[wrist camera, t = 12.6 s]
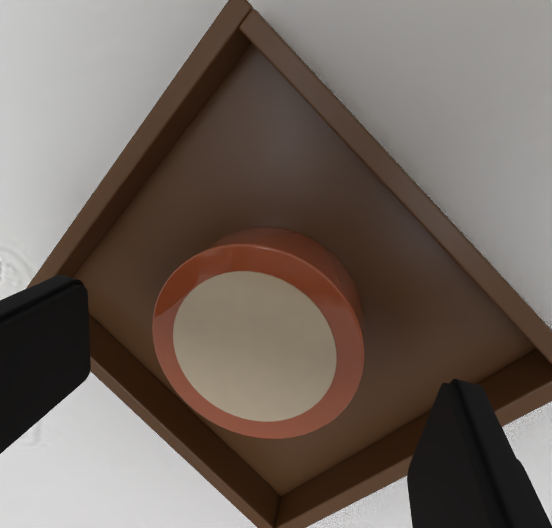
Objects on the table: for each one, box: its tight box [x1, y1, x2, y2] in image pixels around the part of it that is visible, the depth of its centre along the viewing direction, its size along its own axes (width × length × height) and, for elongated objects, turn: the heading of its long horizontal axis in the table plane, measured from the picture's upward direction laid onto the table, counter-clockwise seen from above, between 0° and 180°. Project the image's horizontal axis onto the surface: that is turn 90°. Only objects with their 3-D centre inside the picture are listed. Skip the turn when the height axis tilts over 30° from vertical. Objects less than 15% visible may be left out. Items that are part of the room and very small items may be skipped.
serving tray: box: [26, 0, 552, 528], centre depth 13 cm, size 14×13×2 cm
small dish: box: [152, 227, 365, 439], centre depth 12 cm, size 7×7×2 cm
